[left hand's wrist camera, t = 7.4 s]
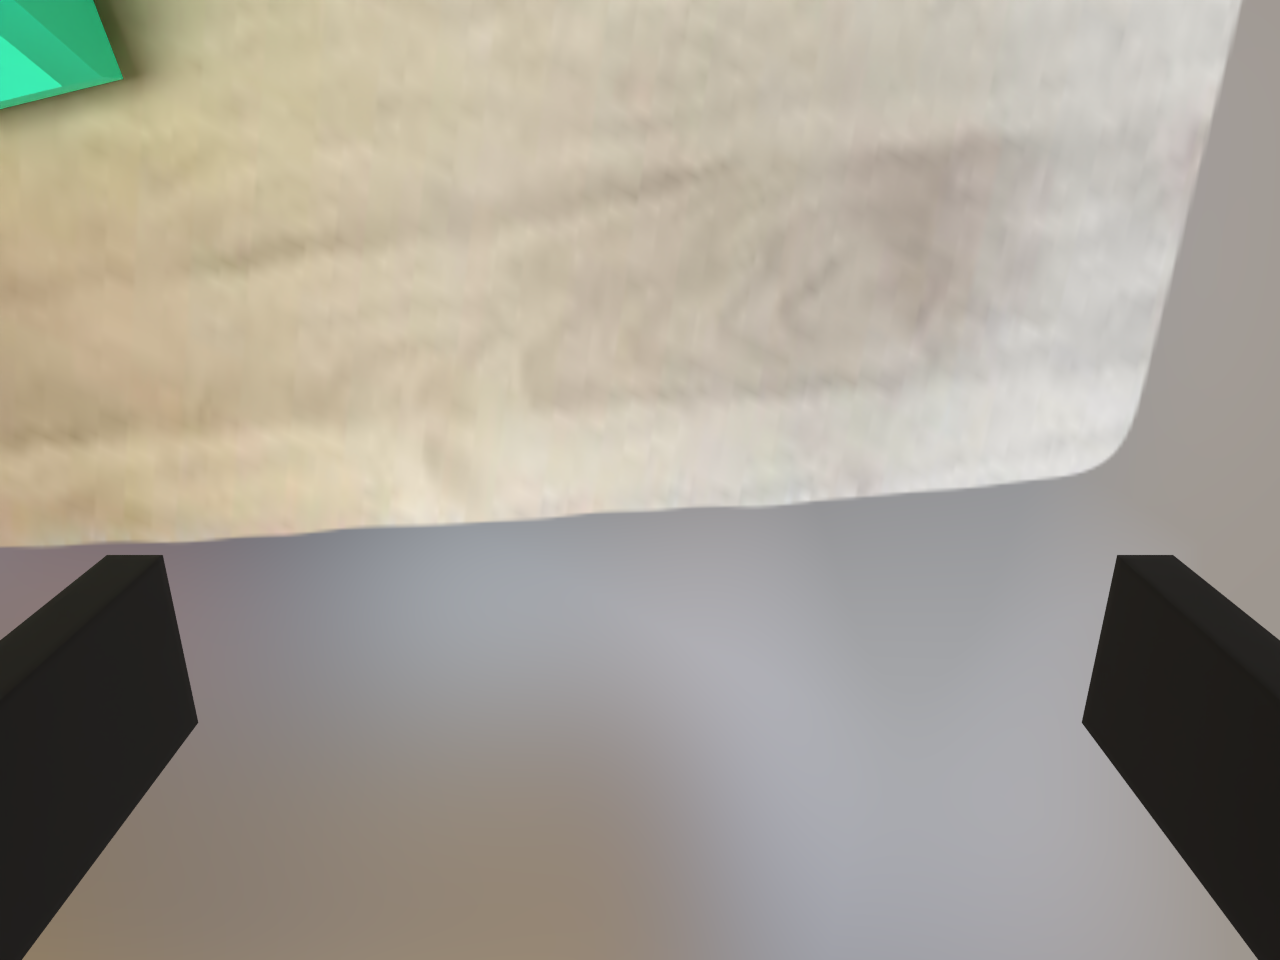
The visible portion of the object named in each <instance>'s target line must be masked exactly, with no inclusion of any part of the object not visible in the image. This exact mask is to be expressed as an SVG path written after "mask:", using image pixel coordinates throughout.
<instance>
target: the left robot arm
mask: <svg viewBox="0 0 1280 960" xmlns="http://www.w3.org/2000/svg"><path fill="white" fill-rule="evenodd" d="M197 723H198V720H197V715H196V710H195V705H194V701H193V696H192V691H191V686H190V682H189V677H188V672H187V668H186V663H185V658H184V654H183V649H182V644H181V639H180V634H179V630H178V625H177V620H176V616H175V611H174V606H173V601H172V597H171V592H170V587H169V583H168V578H167V573H166V568H165V564H164V559H163V555H107V556H105V557H104V558H103V559H102V560H100V561H99V562H98V563H97V564H95V565H94V566H93V567H92V568H90V569H89V570H88V571H87V572H85V573H84V574H83V575H82V576H80V577H79V578H78V579H77V580H75V581H74V582H73V583H72V584H70V585H69V586H68V587H67V588H65V589H64V590H63V591H62V592H60V593H59V594H58V595H57V596H55V597H54V598H53V599H52V600H50V601H49V602H48V603H47V604H45V605H44V606H43V607H42V608H40V609H39V610H38V611H37V612H35V613H34V614H33V615H32V616H30V617H29V618H28V619H27V620H25V621H24V622H23V623H22V624H20V625H19V626H18V627H17V628H15V629H14V630H13V631H12V632H10V633H9V634H8V635H7V636H5V637H4V638H3V639H2V640H0V960H22V959H23V957H24V956H25V955H26V953H27V952H28V950H29V949H30V948H31V947H32V945H33V944H34V943H35V941H36V940H37V938H38V937H39V936H40V934H41V933H42V932H43V930H44V929H45V928H46V926H47V925H48V924H49V922H50V921H51V920H52V918H53V917H54V916H55V914H56V913H57V912H58V910H59V909H60V908H61V906H62V905H63V903H64V902H65V901H66V900H67V898H68V897H69V895H70V894H71V893H72V891H73V890H74V889H75V887H76V886H77V885H78V883H79V882H80V881H81V879H82V878H83V877H84V875H85V874H86V873H87V871H88V870H89V869H90V867H91V866H92V864H93V863H94V862H95V861H96V859H97V858H98V857H99V855H100V854H101V852H102V851H103V850H104V848H105V847H106V846H107V844H108V843H109V842H110V840H111V839H112V838H113V836H114V835H115V834H116V832H117V831H118V830H119V828H120V827H121V826H122V824H123V823H124V821H125V820H126V819H127V818H128V816H129V815H130V814H131V812H132V811H133V809H134V808H135V807H136V805H137V804H138V803H139V801H140V800H141V799H142V797H143V796H144V795H145V793H146V792H147V791H148V789H149V788H150V787H151V785H152V784H153V783H154V781H155V780H156V778H157V777H158V776H159V775H160V773H161V772H162V770H163V769H164V768H165V766H166V765H167V764H168V762H169V761H170V760H171V758H172V757H173V756H174V754H175V753H176V752H177V750H178V749H179V748H180V746H181V745H182V744H183V742H184V741H185V740H186V738H187V737H188V736H189V734H190V733H191V732H192V730H193V729H194V728H195V726H196V725H197ZM1082 723H1083V725H1084V726H1085V728H1086V729H1087V730H1088V731H1089V733H1090V734H1091V736H1092V737H1093V738H1094V740H1095V741H1096V742H1097V744H1098V745H1099V746H1100V748H1101V749H1102V750H1103V752H1104V753H1105V754H1106V756H1107V757H1108V758H1109V760H1110V761H1111V762H1112V764H1113V765H1114V766H1115V768H1116V769H1117V770H1118V772H1119V773H1120V775H1121V776H1122V777H1123V779H1124V780H1125V781H1126V783H1127V784H1128V785H1129V787H1130V788H1131V789H1132V791H1133V792H1134V793H1135V795H1136V796H1137V797H1138V799H1139V800H1140V801H1141V803H1142V804H1143V805H1144V807H1145V808H1146V809H1147V811H1148V812H1149V813H1150V815H1151V816H1152V818H1153V819H1154V820H1155V822H1156V823H1157V824H1158V826H1159V827H1160V828H1161V830H1162V831H1163V832H1164V834H1165V835H1166V836H1167V838H1168V839H1169V840H1170V842H1171V843H1172V844H1173V846H1174V847H1175V848H1176V850H1177V851H1178V852H1179V854H1180V855H1181V857H1182V858H1183V859H1184V861H1185V862H1186V863H1187V865H1188V866H1189V867H1190V869H1191V870H1192V871H1193V873H1194V874H1195V875H1196V877H1197V878H1198V879H1199V881H1200V882H1201V883H1202V885H1203V886H1204V887H1205V889H1206V890H1207V891H1208V893H1209V894H1210V895H1211V897H1212V898H1213V899H1214V901H1215V902H1216V904H1217V905H1218V906H1219V908H1220V909H1221V910H1222V911H1223V913H1224V914H1225V916H1226V917H1227V918H1228V920H1229V921H1230V922H1231V924H1232V925H1233V926H1234V928H1235V929H1236V930H1237V932H1238V933H1239V934H1240V936H1241V937H1242V938H1243V940H1244V941H1245V943H1246V944H1247V945H1248V947H1249V948H1250V949H1251V951H1252V952H1253V953H1254V955H1255V956H1256V957H1257V959H1258V960H1280V640H1278V639H1277V638H1276V637H1275V636H1273V635H1272V634H1271V633H1270V632H1268V631H1267V630H1266V629H1265V628H1263V627H1262V626H1261V625H1260V624H1258V623H1257V622H1256V621H1255V620H1253V619H1252V618H1251V617H1250V616H1248V615H1247V614H1246V613H1245V612H1243V611H1242V610H1241V609H1240V608H1238V607H1237V606H1236V605H1235V604H1233V603H1232V602H1231V601H1230V600H1228V599H1227V598H1226V597H1225V596H1223V595H1222V594H1221V593H1220V592H1218V591H1217V590H1216V589H1215V588H1213V587H1212V586H1211V585H1210V584H1208V583H1207V582H1206V581H1205V580H1203V579H1202V578H1201V577H1200V576H1198V575H1197V574H1196V573H1195V572H1193V571H1192V570H1191V569H1190V568H1188V567H1187V566H1186V565H1185V564H1183V563H1182V562H1181V561H1180V560H1178V559H1177V558H1176V557H1175V556H1173V555H1117V559H1116V564H1115V569H1114V573H1113V578H1112V583H1111V587H1110V592H1109V597H1108V601H1107V606H1106V611H1105V616H1104V620H1103V625H1102V630H1101V634H1100V639H1099V644H1098V649H1097V653H1096V658H1095V663H1094V668H1093V672H1092V677H1091V682H1090V686H1089V691H1088V696H1087V701H1086V705H1085V710H1084V715H1083V720H1082Z"/></svg>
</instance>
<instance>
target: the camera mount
mask: <svg viewBox="0 0 1280 960" xmlns="http://www.w3.org/2000/svg"><path fill="white" fill-rule="evenodd" d="M121 79H123V76H122V74H121V71H120V69H119V66H118V64H117V61H116V58H115V56H114V53H113V51H112V48H111V45H110V43H109V40H108V38H107V35H106V32H105V30H104V27H103V25H102V22H101V19H100V17H99V14H98V12H97V9H96V6H95V4H94V1H93V0H0V109H3V108H7V107H11V106H15V105H19V104H23V103H27V102H31V101H35V100H40V99H44V98H48V97H52V96H56V95H60V94H64V93H68V92H72V91H76V90H80V89H84V88H89V87H93V86H97V85H101V84H105V83H109V82H113V81H117V80H121Z"/></svg>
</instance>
